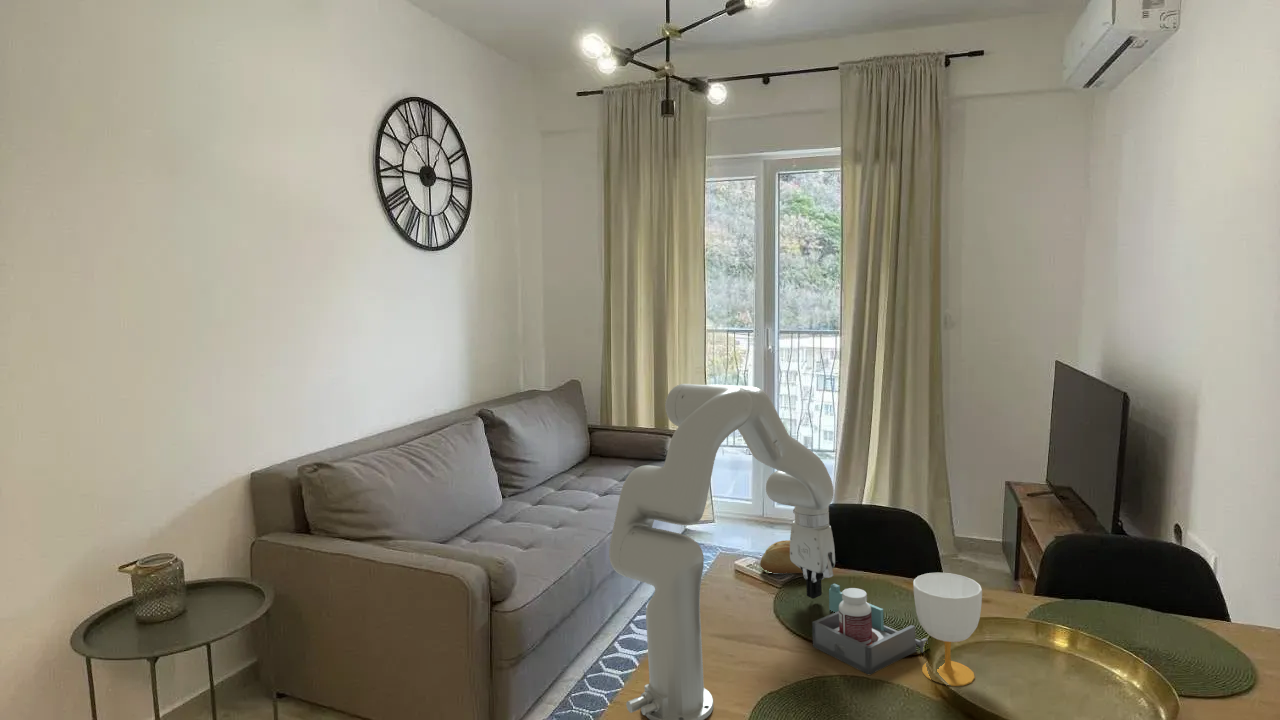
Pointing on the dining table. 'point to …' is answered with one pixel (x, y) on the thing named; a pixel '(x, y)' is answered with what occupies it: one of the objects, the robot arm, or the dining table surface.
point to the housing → (859, 654)
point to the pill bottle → (855, 615)
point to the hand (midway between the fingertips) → (814, 595)
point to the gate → (836, 598)
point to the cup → (948, 617)
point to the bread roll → (779, 559)
